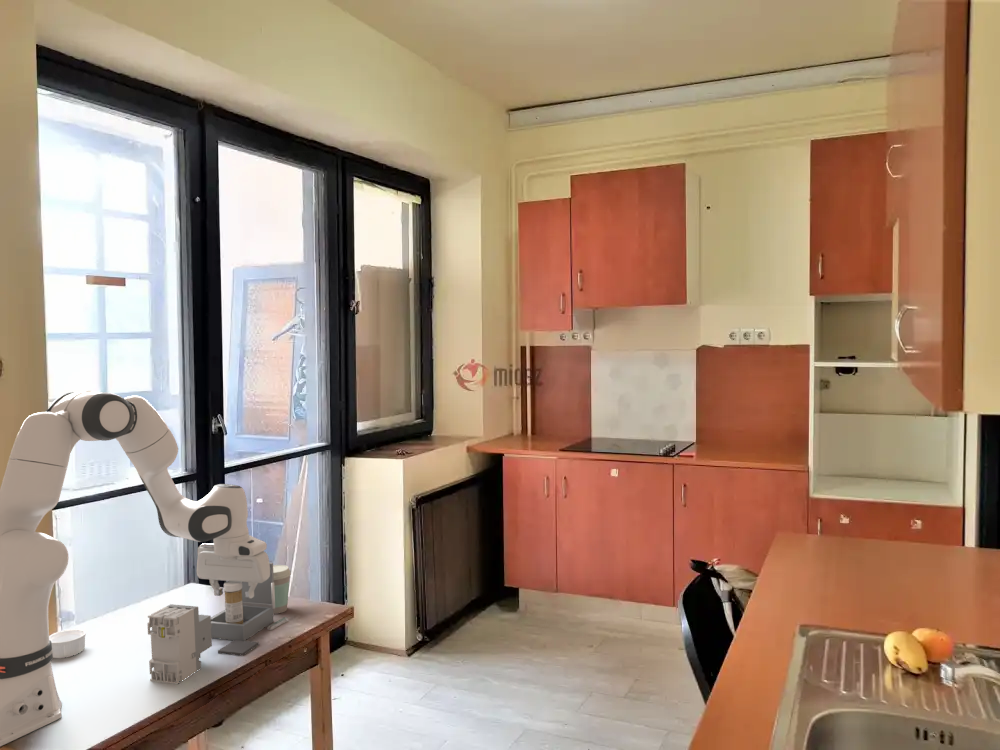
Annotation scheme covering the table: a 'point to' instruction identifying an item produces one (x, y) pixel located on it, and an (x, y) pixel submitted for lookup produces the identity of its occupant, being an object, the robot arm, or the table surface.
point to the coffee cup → (281, 587)
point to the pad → (238, 647)
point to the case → (248, 612)
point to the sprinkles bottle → (233, 602)
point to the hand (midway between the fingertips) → (234, 596)
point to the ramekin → (67, 643)
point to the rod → (277, 623)
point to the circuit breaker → (177, 642)
